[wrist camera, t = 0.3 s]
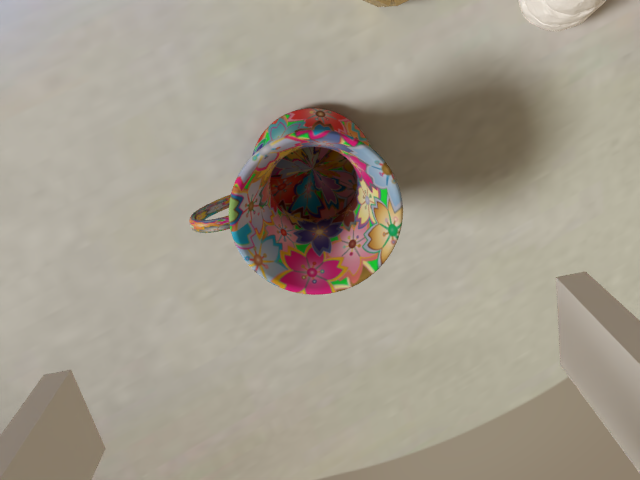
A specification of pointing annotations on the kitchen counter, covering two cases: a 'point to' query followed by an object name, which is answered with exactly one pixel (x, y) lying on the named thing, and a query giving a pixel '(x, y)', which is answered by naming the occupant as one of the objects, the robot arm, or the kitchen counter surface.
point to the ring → (385, 2)
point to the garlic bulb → (558, 12)
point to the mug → (311, 205)
